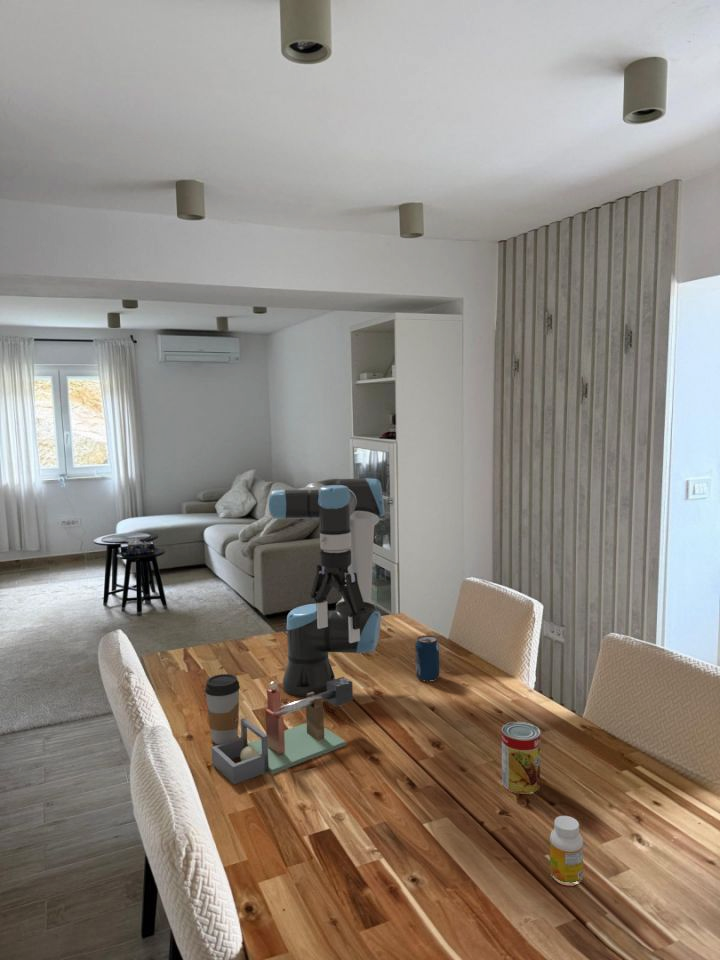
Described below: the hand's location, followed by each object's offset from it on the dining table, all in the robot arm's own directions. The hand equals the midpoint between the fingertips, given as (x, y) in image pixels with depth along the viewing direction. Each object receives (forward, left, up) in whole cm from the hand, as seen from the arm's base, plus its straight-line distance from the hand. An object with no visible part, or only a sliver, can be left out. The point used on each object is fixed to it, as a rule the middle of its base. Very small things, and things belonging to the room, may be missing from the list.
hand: (338, 634), depth 165 cm
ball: (+26, 0, -23) cm, 34 cm away
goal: (+27, 0, -25) cm, 37 cm away
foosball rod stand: (+9, 0, -23) cm, 25 cm away
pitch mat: (+14, 0, -25) cm, 28 cm away
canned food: (-15, +44, -25) cm, 53 cm away
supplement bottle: (+1, +67, -25) cm, 72 cm away
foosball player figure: (+8, 0, -25) cm, 26 cm away
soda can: (-38, -10, -25) cm, 47 cm away
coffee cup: (+25, -14, -25) cm, 38 cm away
